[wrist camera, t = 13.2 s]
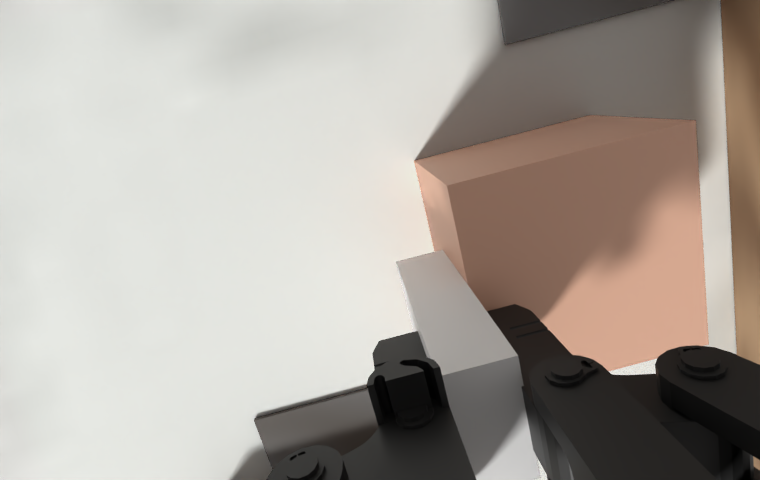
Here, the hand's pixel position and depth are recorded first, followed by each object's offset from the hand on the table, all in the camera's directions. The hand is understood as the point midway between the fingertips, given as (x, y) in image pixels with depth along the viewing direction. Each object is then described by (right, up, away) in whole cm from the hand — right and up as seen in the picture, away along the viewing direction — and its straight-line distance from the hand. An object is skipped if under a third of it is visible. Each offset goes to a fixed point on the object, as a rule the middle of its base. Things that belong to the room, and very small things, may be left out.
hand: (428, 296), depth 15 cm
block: (+3, +2, +2) cm, 4 cm away
